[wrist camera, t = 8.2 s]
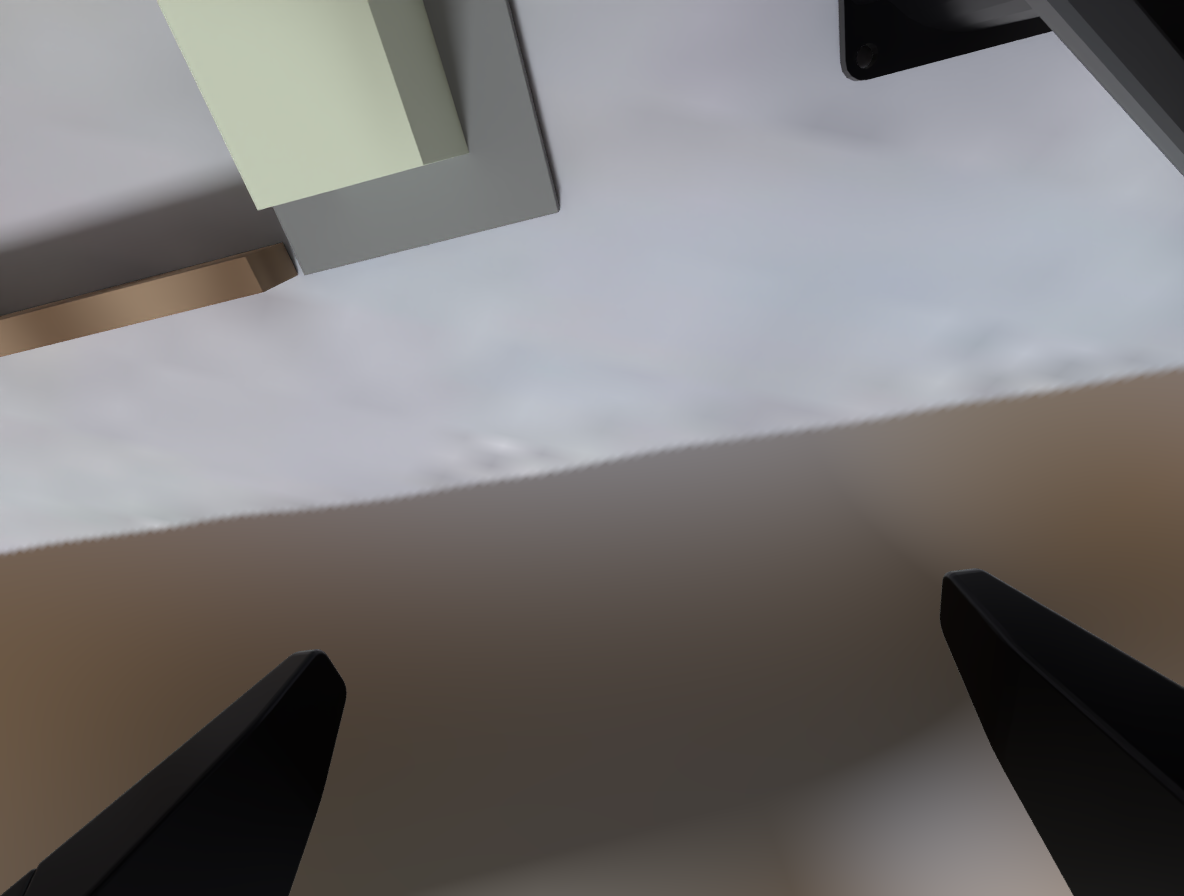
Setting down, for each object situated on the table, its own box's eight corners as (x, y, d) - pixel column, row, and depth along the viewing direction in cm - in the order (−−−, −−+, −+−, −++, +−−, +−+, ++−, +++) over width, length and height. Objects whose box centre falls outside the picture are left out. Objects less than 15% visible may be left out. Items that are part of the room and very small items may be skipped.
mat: (436, -292, 12) (429, -307, 12) (560, 209, 17) (558, 212, 16) (113, -160, 14) (97, -169, 13) (312, 271, 18) (304, 275, 18)
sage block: (379, -141, 13) (288, -232, 10) (469, 152, 16) (423, 165, 12) (223, -83, 14) (85, -148, 10) (336, 189, 17) (257, 210, 13)
